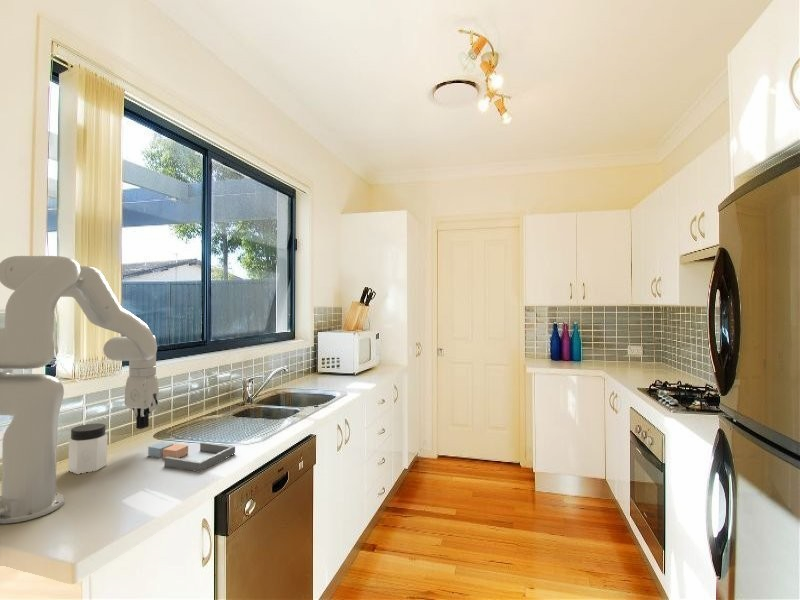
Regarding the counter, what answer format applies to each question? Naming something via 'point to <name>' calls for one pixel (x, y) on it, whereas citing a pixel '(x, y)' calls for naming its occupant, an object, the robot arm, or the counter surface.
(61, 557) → the counter surface
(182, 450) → the tile
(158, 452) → the tile
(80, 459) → the jar
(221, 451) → the tray
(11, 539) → the counter surface
